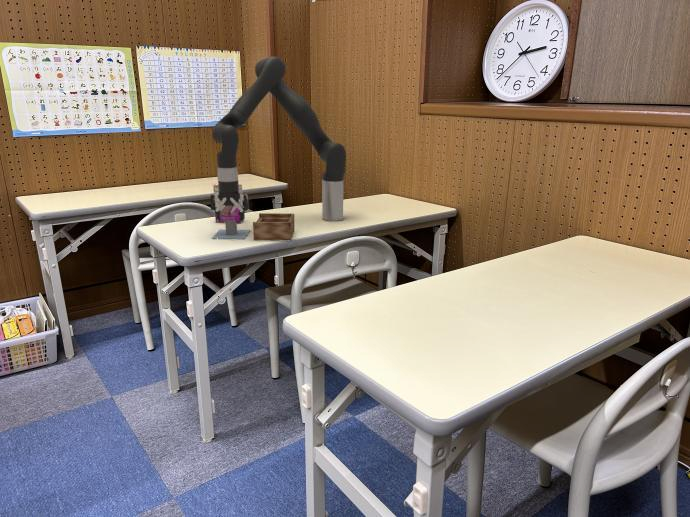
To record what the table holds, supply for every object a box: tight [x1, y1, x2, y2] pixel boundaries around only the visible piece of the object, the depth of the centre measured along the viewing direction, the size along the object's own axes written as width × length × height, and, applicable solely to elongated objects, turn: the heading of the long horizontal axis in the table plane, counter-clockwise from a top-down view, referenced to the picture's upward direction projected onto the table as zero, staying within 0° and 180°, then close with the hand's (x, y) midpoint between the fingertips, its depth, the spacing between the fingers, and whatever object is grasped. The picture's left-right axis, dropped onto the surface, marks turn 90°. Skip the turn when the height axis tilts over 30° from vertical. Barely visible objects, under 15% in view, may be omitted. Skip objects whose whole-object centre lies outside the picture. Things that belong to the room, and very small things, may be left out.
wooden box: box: [252, 212, 296, 242], centre depth 194 cm, size 14×15×7 cm
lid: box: [211, 220, 251, 240], centre depth 195 cm, size 12×12×6 cm
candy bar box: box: [212, 182, 245, 224], centre depth 212 cm, size 11×5×16 cm, turn 84°
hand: (230, 220), depth 194 cm, fingers open, 8 cm apart
